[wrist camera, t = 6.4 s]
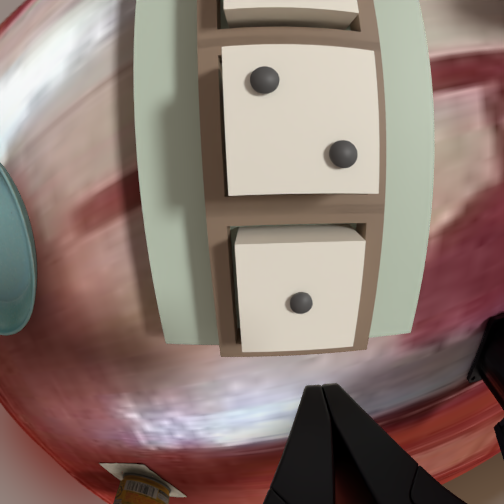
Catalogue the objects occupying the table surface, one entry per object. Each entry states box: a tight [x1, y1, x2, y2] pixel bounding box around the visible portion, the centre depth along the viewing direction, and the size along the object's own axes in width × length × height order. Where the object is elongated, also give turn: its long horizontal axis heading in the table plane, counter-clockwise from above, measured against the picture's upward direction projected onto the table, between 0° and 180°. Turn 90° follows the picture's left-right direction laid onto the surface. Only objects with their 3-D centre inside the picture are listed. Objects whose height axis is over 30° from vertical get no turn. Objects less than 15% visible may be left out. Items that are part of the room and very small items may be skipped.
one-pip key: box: [235, 224, 366, 352], centre depth 13 cm, size 5×5×3 cm
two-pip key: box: [222, 44, 379, 196], centre depth 10 cm, size 5×5×3 cm
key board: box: [133, 0, 434, 357], centre depth 13 cm, size 22×14×3 cm, turn 2°
